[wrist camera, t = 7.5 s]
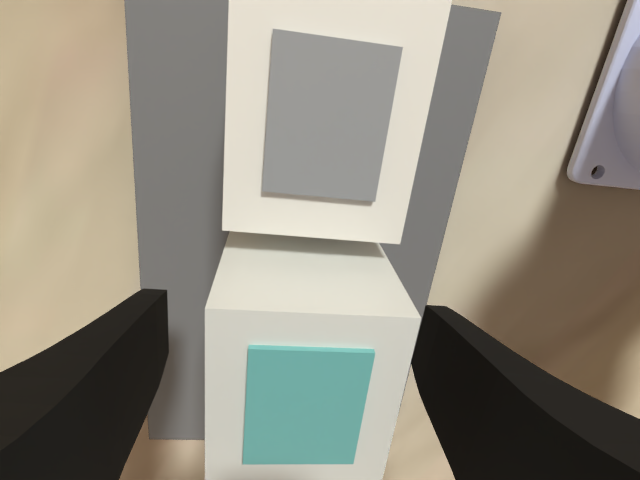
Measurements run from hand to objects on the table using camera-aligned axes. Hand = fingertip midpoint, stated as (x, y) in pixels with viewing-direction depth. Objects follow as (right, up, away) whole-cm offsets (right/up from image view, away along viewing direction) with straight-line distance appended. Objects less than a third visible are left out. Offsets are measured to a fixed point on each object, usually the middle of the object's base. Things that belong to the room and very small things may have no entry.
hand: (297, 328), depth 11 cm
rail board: (0, +2, +5) cm, 5 cm away
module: (0, +2, +3) cm, 3 cm away
